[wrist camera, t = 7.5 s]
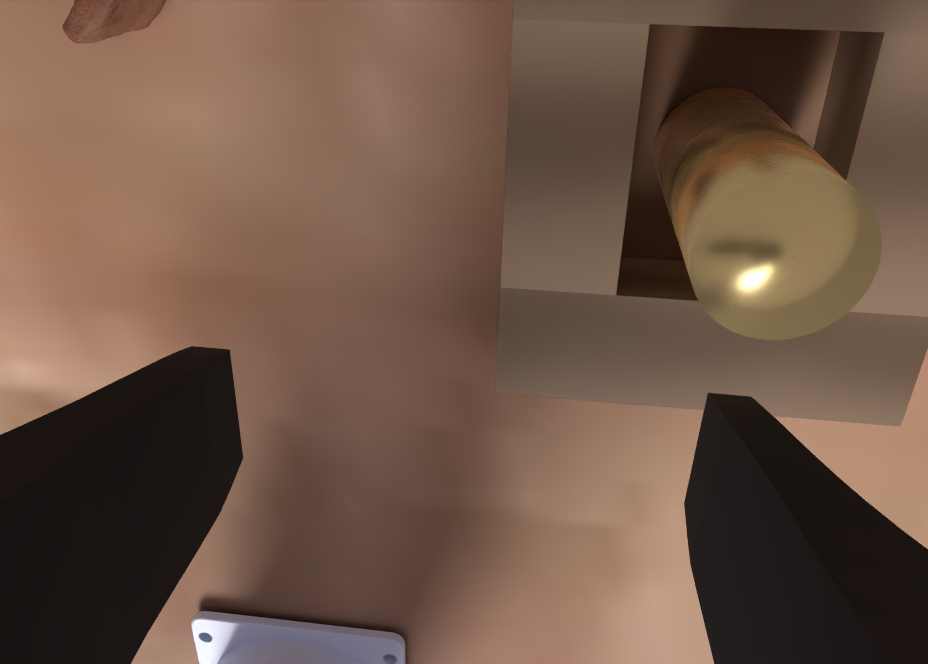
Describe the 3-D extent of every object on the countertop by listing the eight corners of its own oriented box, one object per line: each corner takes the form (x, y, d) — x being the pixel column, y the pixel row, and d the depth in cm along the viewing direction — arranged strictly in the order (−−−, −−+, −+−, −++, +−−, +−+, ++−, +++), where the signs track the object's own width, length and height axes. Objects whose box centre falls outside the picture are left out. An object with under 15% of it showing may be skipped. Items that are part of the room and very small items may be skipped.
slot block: (866, 374, 21) (900, 426, 19) (502, 346, 22) (495, 393, 20) (1024, -137, 15) (1099, -147, 13) (527, -144, 16) (521, -154, 14)
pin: (757, 219, 20) (839, 355, 13) (640, 197, 20) (668, 321, 13) (799, 99, 18) (913, 190, 12) (672, 77, 18) (721, 155, 12)
